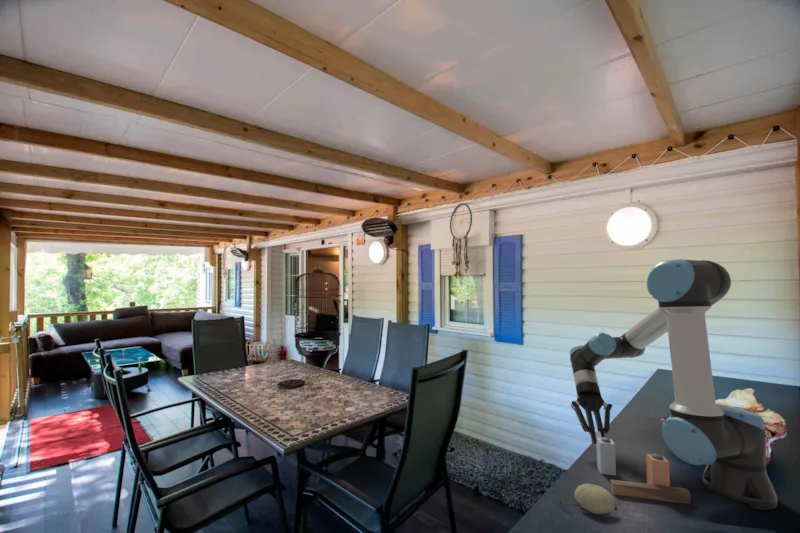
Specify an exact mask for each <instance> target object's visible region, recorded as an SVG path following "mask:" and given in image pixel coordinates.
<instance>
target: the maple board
mask: <svg viewBox="0 0 800 533" xmlns="http://www.w3.org/2000/svg"><path fill="white" fill-rule="evenodd" d="M609 491H611V493H612V494H611V495H614V496H615V495H617V496H622V497H623V496H625V497H631V498H639V499H647V500H655V501H661V502H662V501H664V502H671V503H680V504H685V505H686V504H687V505H691V492H690V491H689V490H688V489H687V488H686V487H685V488H684V487H678V486H671V485H670V486H661V485H653V484H647V483H644V482H635V481H626V480H617V479H609Z"/></svg>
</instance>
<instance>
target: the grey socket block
mask: <svg viewBox="0 0 800 533" xmlns="http://www.w3.org/2000/svg"><path fill="white" fill-rule="evenodd" d="M616 461H617V460H616V444H615V442H614V441H613V439H612V438H609V437H606V436H605V437H601V438H597V448H596V468H597V469H598V471H599V473H600V474H601V475H609V476H617V468H616V467H617V466H616V464H617V463H616Z"/></svg>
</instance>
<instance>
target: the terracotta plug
mask: <svg viewBox="0 0 800 533" xmlns="http://www.w3.org/2000/svg"><path fill="white" fill-rule="evenodd" d="M645 460H646V462H645V463H646V484H653V485H661V486H670V487H671V478H670V477H671V476H670V461H669V460H668V459H667V458H666V457H665V456H664V455H663V454H659V453H645Z"/></svg>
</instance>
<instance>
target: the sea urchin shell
mask: <svg viewBox="0 0 800 533" xmlns="http://www.w3.org/2000/svg"><path fill="white" fill-rule="evenodd" d="M573 495H574V500H575V501H576V502H577V503H578V504H577V505H578V506H579V507H581V508H582V509H584V510H586V511H587V512H590V513H592V514H595V515H604V514H605V515H607V514H611V513H612V512H614V511H615V509H616V502H615V499H614V497H613V494H611V493H610V492H609V491H608V490H607V489H606V488H604V487H603V486H600V485H596V484H593V483H583V484H580V485H578V486H577V487H576V489H575V490H574V494H573Z"/></svg>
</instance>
